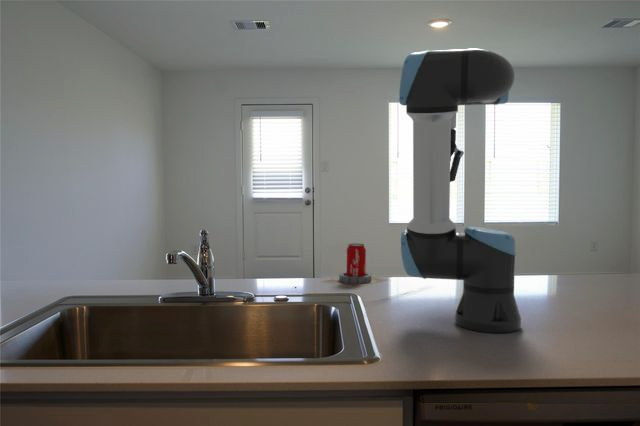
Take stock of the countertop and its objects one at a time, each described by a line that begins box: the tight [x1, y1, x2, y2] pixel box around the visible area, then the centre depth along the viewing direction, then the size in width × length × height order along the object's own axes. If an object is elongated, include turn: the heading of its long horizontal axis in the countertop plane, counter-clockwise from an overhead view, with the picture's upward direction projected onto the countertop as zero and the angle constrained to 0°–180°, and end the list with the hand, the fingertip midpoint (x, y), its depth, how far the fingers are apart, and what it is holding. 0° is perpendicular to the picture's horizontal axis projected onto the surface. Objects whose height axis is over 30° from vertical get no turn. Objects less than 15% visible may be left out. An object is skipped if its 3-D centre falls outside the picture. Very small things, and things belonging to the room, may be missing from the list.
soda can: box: [346, 242, 367, 277], centre depth 172 cm, size 6×6×12 cm
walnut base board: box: [321, 276, 389, 289], centre depth 173 cm, size 18×14×2 cm
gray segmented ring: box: [338, 271, 373, 284], centre depth 172 cm, size 10×10×2 cm
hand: (442, 203), depth 167 cm, fingers closed
